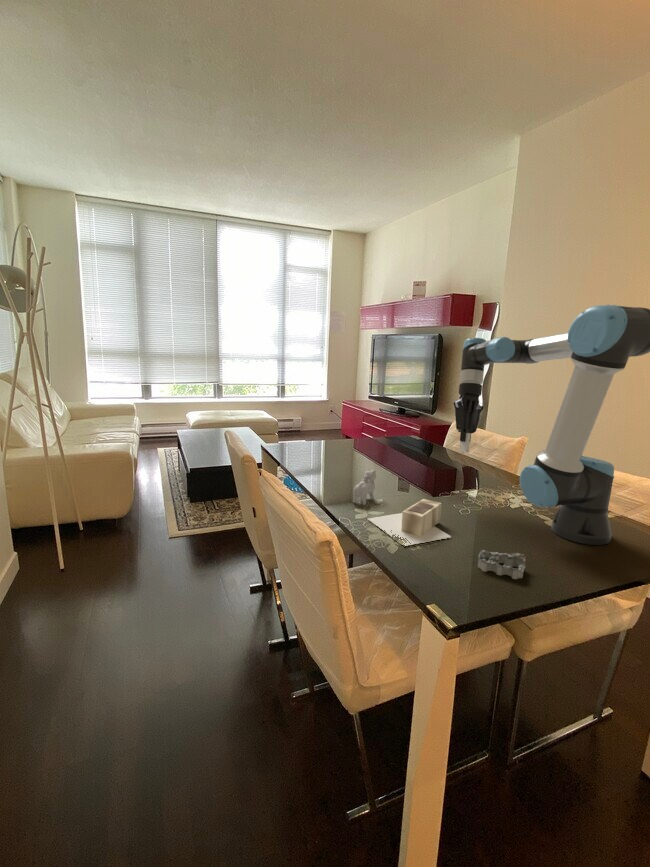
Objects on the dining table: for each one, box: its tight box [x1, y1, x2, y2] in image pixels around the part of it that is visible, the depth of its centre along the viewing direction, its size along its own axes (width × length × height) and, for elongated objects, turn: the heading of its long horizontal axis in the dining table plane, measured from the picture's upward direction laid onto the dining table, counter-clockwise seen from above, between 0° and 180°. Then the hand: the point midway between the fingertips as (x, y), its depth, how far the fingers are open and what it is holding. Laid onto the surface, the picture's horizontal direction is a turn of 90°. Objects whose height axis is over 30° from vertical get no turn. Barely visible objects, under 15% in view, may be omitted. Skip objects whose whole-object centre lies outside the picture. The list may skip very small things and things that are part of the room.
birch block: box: [401, 498, 442, 537], centre depth 126 cm, size 6×6×14 cm
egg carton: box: [477, 549, 527, 580], centre depth 104 cm, size 11×8×4 cm
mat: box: [367, 512, 452, 546], centre depth 126 cm, size 20×16×1 cm
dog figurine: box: [352, 468, 377, 506], centre depth 148 cm, size 5×13×11 cm, turn 151°
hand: (464, 451), depth 145 cm, fingers closed
